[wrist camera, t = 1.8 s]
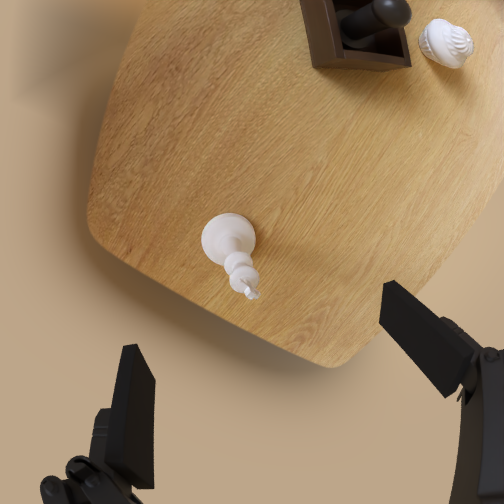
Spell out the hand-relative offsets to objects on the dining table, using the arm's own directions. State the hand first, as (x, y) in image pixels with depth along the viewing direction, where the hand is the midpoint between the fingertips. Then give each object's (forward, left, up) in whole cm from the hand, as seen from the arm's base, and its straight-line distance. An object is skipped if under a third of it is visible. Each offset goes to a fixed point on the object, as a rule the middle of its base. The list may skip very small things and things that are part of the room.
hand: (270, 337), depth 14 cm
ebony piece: (+14, +19, -13) cm, 27 cm away
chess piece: (0, 0, -14) cm, 14 cm away
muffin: (+26, +19, -14) cm, 35 cm away
